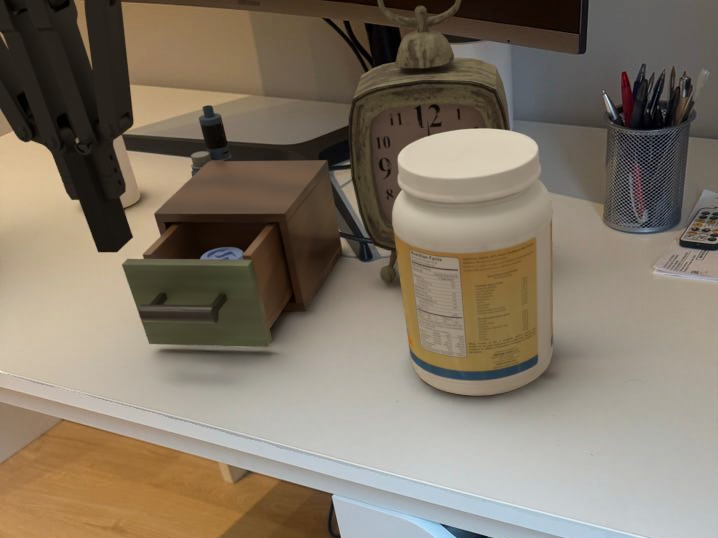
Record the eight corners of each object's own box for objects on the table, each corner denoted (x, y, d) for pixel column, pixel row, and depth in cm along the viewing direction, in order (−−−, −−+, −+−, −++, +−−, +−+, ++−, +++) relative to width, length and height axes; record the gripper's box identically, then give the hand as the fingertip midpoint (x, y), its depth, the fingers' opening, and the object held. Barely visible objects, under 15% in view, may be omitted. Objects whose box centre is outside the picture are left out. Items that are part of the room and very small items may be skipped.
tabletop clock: (368, 292, 89) (321, -18, 71) (377, 254, 95) (335, -40, 77) (516, 284, 88) (505, -32, 70) (514, 246, 94) (504, -52, 76)
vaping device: (252, 222, 103) (224, 104, 95) (219, 239, 100) (187, 119, 92) (236, 218, 104) (207, 102, 96) (203, 235, 101) (170, 116, 93)
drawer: (253, 369, 77) (231, 286, 72) (130, 366, 79) (100, 284, 74) (309, 284, 89) (293, 207, 83) (200, 283, 90) (178, 207, 85)
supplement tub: (446, 323, 83) (427, 119, 71) (572, 340, 79) (575, 128, 67) (387, 389, 75) (354, 174, 63) (523, 412, 72) (516, 187, 60)
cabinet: (305, 311, 87) (285, 213, 80) (182, 309, 88) (153, 213, 82) (342, 252, 96) (327, 160, 89) (231, 251, 98) (208, 161, 91)
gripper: (-190, -182, 47) (8, 266, 64) (36, -203, 45) (179, 266, 62) (-104, -193, 52) (58, 225, 69) (103, -212, 50) (218, 223, 67)
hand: (115, 244), depth 65 cm, fingers closed
